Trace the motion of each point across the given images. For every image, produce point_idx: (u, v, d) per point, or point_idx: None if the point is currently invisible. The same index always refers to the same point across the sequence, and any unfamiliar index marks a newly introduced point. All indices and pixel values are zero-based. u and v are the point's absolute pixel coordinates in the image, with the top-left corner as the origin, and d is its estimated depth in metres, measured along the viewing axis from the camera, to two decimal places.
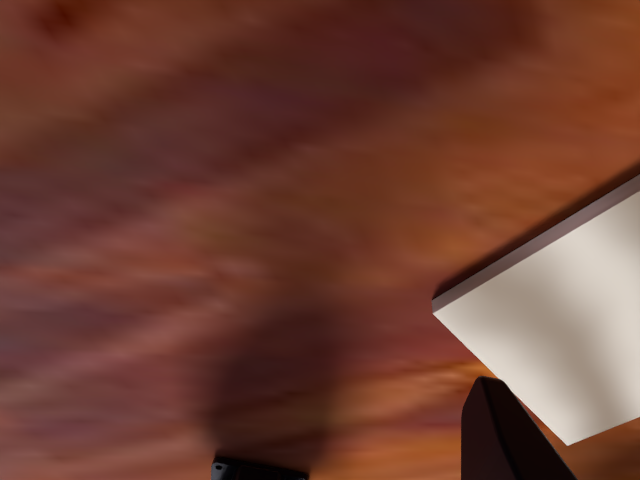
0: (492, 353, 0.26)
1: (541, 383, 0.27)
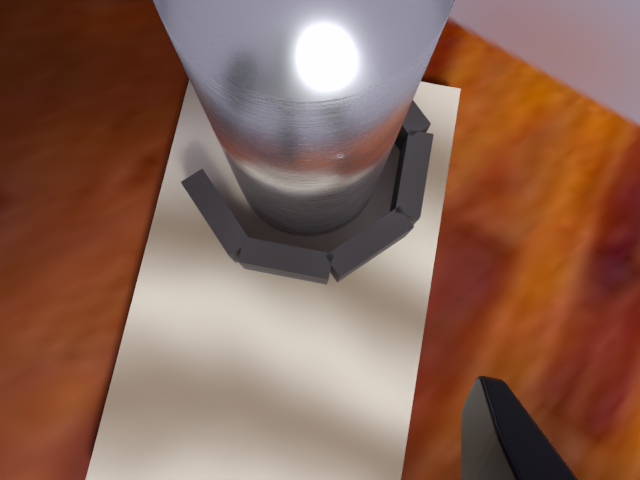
0: (187, 479, 0.20)
1: (271, 475, 0.20)
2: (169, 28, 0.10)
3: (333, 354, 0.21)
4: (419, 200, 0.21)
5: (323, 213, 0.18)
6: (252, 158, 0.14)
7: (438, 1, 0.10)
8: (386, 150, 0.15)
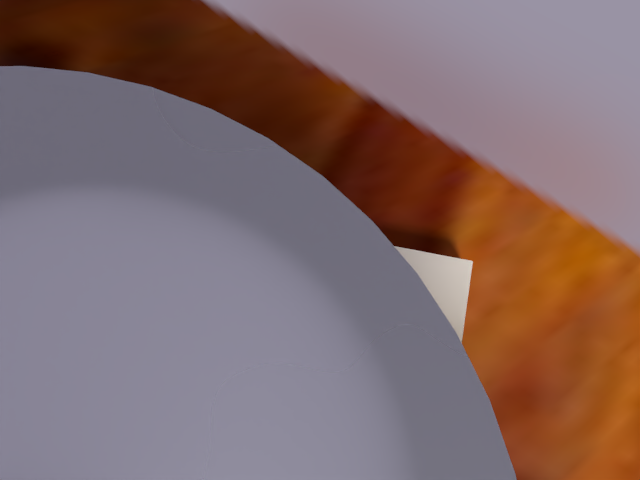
0: None
1: None
2: None
3: None
4: None
5: None
6: None
7: None
8: None
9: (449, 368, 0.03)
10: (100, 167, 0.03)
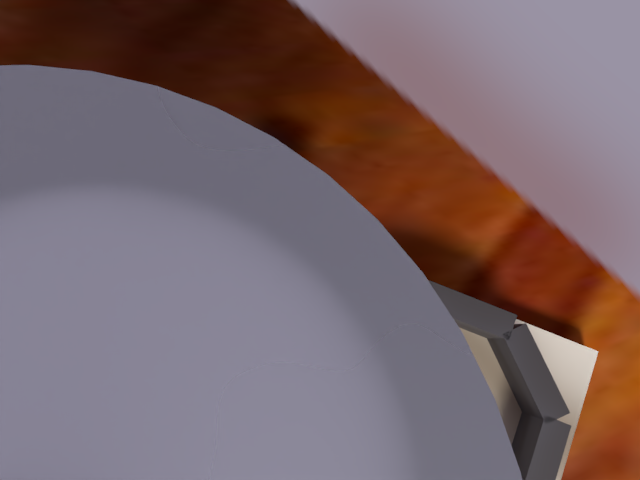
0: None
1: None
2: None
3: None
4: None
5: None
6: None
7: None
8: None
9: (455, 368, 0.03)
10: (105, 166, 0.03)
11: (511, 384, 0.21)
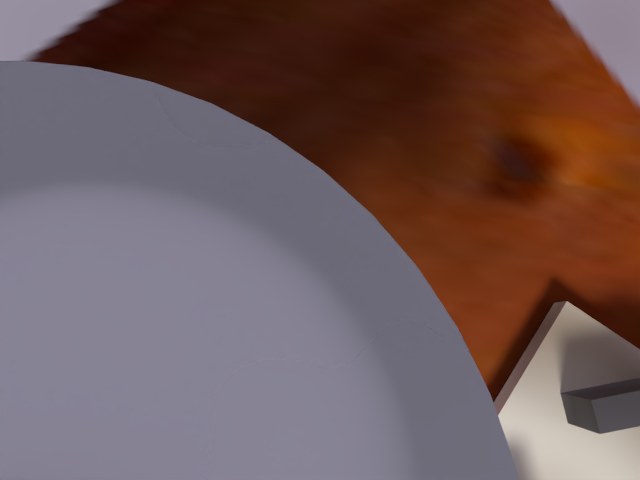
0: None
1: None
2: None
3: None
4: None
5: None
6: None
7: None
8: None
9: (451, 364, 0.03)
10: (101, 162, 0.03)
11: None
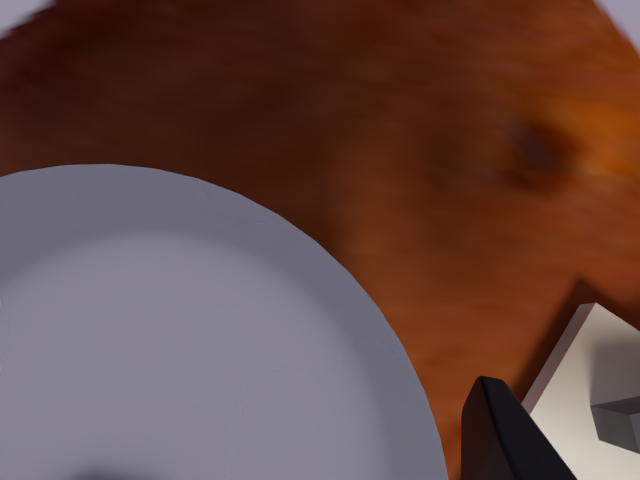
0: None
1: None
2: None
3: None
4: None
5: None
6: None
7: None
8: None
9: (398, 371, 0.04)
10: (164, 235, 0.05)
11: None
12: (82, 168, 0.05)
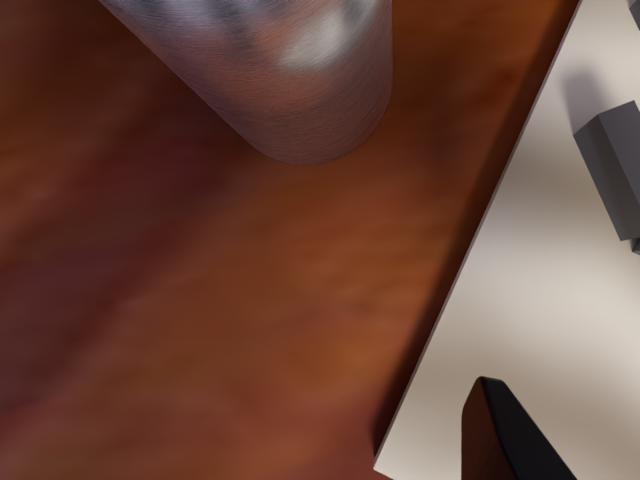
0: None
1: None
2: None
3: None
4: None
5: (322, 123, 0.14)
6: (180, 53, 0.10)
7: None
8: (372, 4, 0.11)
9: None
10: None
11: None
12: None
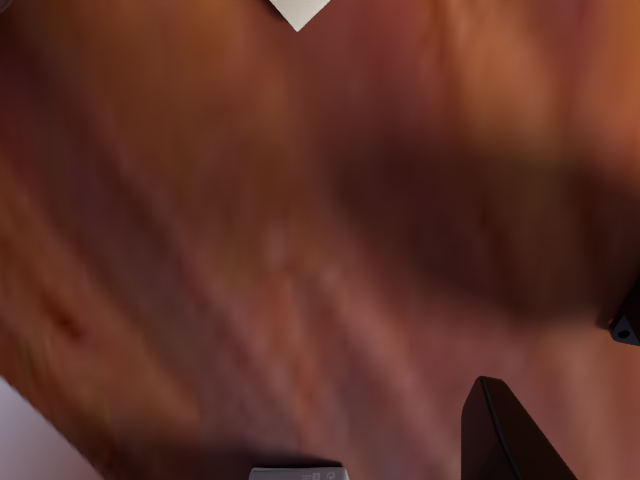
0: None
1: None
2: None
3: None
4: None
5: None
6: None
7: None
8: None
9: None
10: None
11: None
12: None
